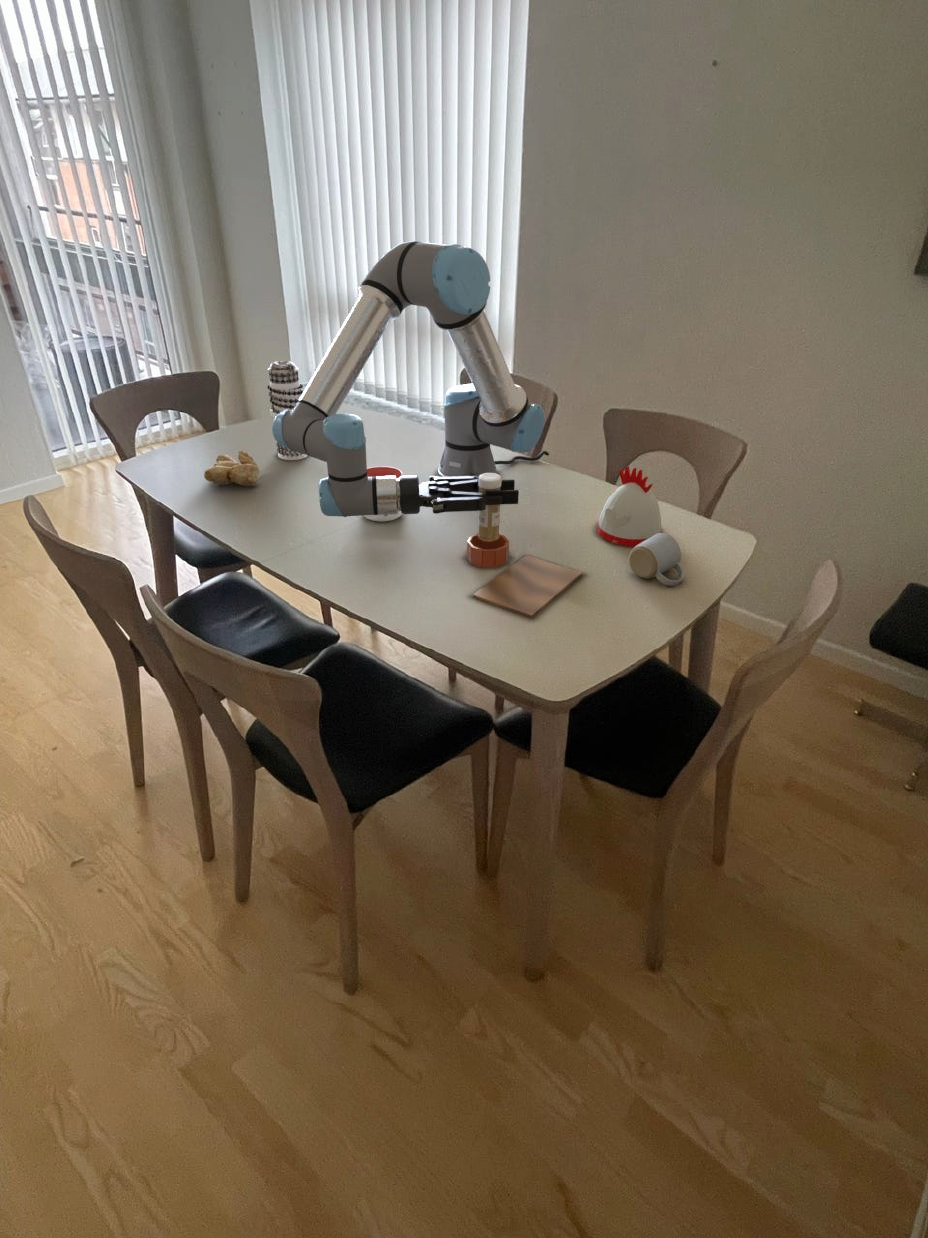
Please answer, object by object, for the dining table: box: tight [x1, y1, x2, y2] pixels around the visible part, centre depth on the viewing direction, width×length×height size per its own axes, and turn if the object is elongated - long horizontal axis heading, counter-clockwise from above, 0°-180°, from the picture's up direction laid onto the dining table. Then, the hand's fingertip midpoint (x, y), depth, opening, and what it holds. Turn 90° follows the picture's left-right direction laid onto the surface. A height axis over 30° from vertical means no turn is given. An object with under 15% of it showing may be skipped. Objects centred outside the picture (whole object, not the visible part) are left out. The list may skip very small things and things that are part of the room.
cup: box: [363, 465, 404, 523], centre depth 171 cm, size 10×10×10 cm
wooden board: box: [472, 555, 583, 619], centre depth 146 cm, size 20×13×1 cm, turn 145°
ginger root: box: [203, 450, 260, 487], centre depth 188 cm, size 16×16×8 cm
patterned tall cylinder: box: [266, 360, 309, 461], centre depth 200 cm, size 9×9×25 cm
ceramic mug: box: [628, 532, 685, 587], centre depth 148 cm, size 11×8×8 cm
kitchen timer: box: [597, 465, 662, 547], centre depth 163 cm, size 14×14×15 cm
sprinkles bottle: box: [477, 472, 503, 542], centre depth 150 cm, size 5×5×14 cm
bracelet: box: [466, 532, 510, 569], centre depth 155 cm, size 8×9×4 cm
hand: (515, 491), depth 148 cm, fingers closed on sprinkles bottle, 5 cm apart
